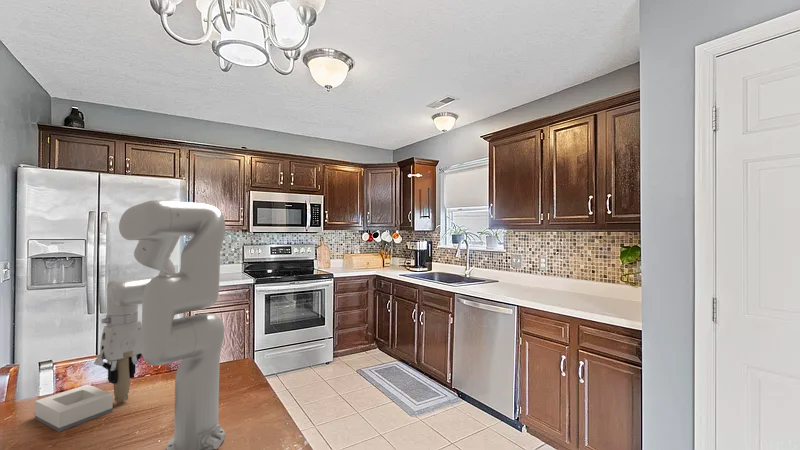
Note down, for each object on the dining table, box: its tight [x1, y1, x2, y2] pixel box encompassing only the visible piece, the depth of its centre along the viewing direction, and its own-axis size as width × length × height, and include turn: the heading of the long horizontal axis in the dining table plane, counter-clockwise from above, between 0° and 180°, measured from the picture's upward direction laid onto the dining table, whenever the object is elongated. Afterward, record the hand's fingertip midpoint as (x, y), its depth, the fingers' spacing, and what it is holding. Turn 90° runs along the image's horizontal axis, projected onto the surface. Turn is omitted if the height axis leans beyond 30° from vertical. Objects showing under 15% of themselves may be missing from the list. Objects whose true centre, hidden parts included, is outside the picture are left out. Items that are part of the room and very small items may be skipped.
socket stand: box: [34, 383, 114, 433], centre depth 103 cm, size 14×12×5 cm
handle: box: [113, 350, 133, 403], centre depth 110 cm, size 5×6×15 cm
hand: (121, 379), depth 110 cm, fingers closed on handle, 3 cm apart
